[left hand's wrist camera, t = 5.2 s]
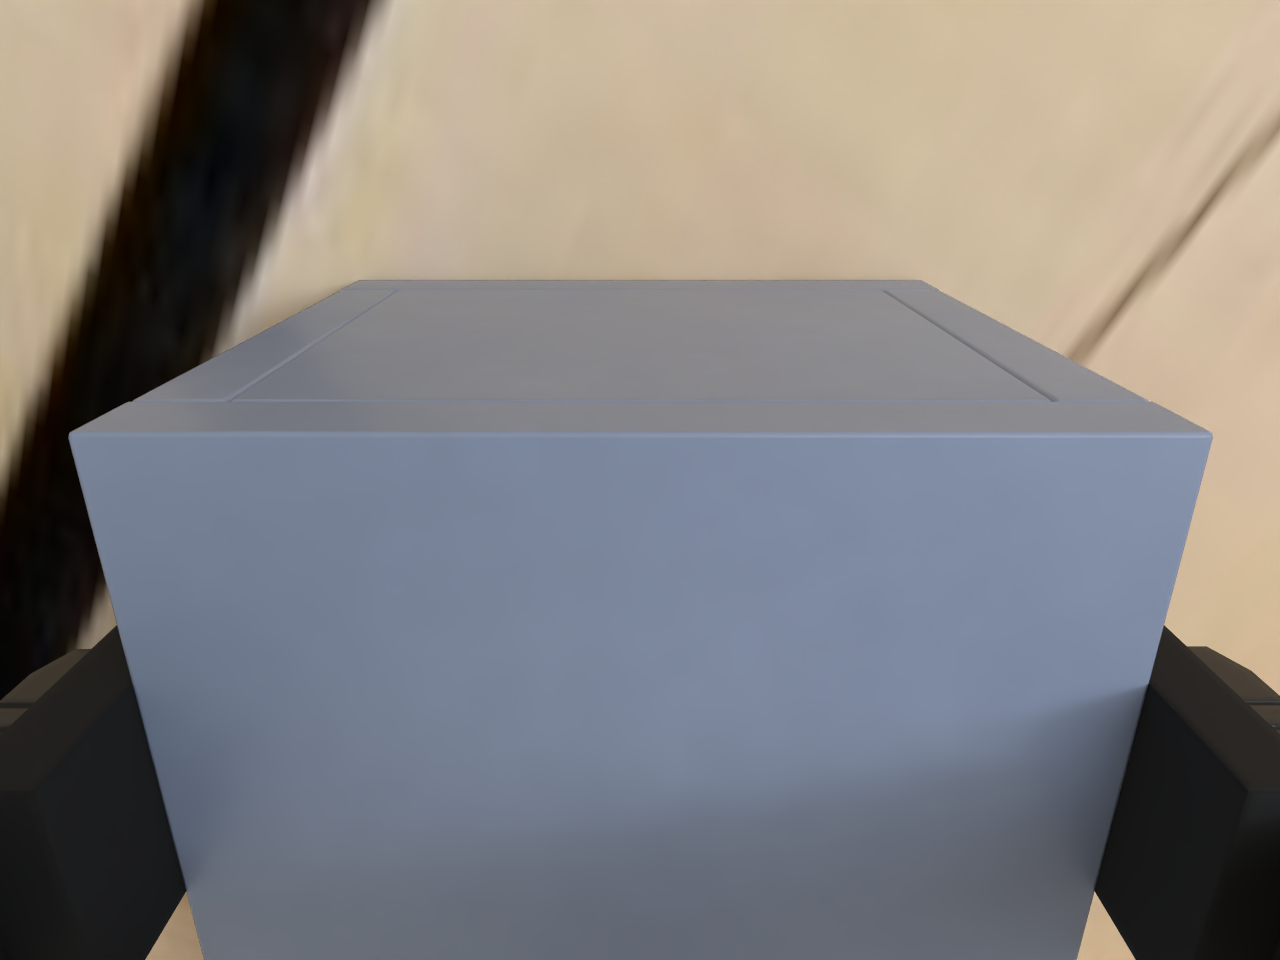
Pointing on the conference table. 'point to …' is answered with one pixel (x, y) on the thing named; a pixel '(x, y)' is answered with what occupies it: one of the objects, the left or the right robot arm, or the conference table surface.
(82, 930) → the left robot arm
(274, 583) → the cabinet
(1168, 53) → the conference table surface
